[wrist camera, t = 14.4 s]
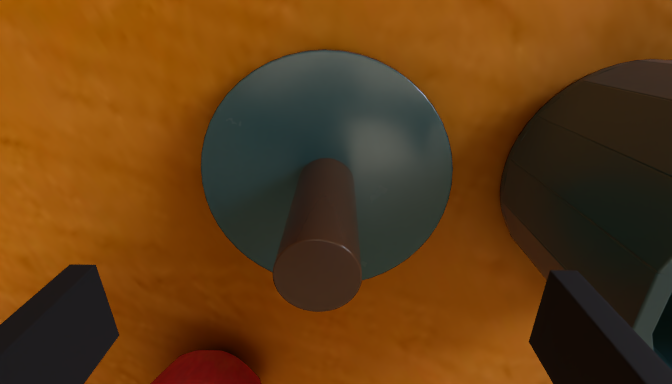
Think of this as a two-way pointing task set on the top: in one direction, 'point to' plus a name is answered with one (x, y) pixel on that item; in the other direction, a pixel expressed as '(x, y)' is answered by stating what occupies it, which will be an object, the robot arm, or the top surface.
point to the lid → (326, 172)
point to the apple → (207, 369)
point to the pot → (602, 191)
